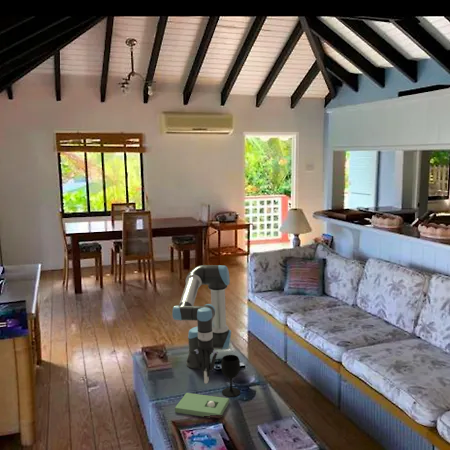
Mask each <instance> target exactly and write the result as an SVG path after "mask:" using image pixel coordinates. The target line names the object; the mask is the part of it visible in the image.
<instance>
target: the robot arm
mask: <svg viewBox="0 0 450 450" xmlns="http://www.w3.org/2000/svg"><path fill="white" fill-rule="evenodd" d="M185 277H186V278H185V286H184V289H183V292H182V294H181V299H180V301H179V304H178V305H174V306H173V307H172V314H171V315H172V319H173V320H174V321H194V322H195V321H197V322H196V324H197V326H195V327H194V326H193V327H192V328H190V329H189V330H188V333H187V334H188V336H187V340H188V354H187V357H186V361H185V363H186V366H187V367H188V368H191V369H196V370H198V369H199V370H201V373H202V374H201V375H202V377H203V382H204V384H208V383H209V382H210V379H209V378H210V376H211V371H213V369H214V368H215V364H216V360H217V357H218V354H219V352H218V351H215V350H227V349H229V348H230V345H231V338H232V337H231V336H232V330H231V329H230V327H229V326H228V325H227V312H226V289H227V288H228V286H229V285H230V281H231V280H230V277H231V276H230V272H229V268H228V266H227V265H220V264H219V265H216V264H214V265H213V264H211V265H210V264H207V265H206V264H203V265H202V264H201V265H198V266H196V267H194V268H192V270H190V271H189V272H188V273H187V275H186V276H185ZM202 285H204V286H205V285H206V286H207V289H208V290H210V303H206V304H204V305H195V301H196V298H197V294H198V290H199V288H200V287H201V286H202ZM211 355H212V359H211Z"/></svg>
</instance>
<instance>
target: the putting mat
mask: <svg viewBox="0 0 450 450" xmlns="http://www.w3.org/2000/svg"><path fill="white" fill-rule="evenodd" d="M209 401H213V402H214V403H215V407H214V408H212V407H207V404H208V402H209ZM229 404H230V397H227V398H226V397H221V396H215V395H213V396H212V395H207V394H206V395H205V394H198V393H191V392H186V393H185V394H184V395H183V397H182V398H181V399H180V401H179V402H178V403H177V404H176V406H175V407H174V413H178V414H183V415H190V416H191V415H192V416H197V417H204V416H210V415H222V416H223V415H224V413H225V411H226V409H227V408H228V405H229Z"/></svg>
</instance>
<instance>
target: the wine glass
mask: <svg viewBox="0 0 450 450" xmlns="http://www.w3.org/2000/svg"><path fill="white" fill-rule="evenodd" d="M220 367H221V368H220V369H221V372H222V374H223V376H224V377H225V378H227V379H229V387H225V388H224V389H222V390H221V394H222V395H223V396H224V397H225V398H226V397H227V398H235V397H238V396H240V395H241V390H240V389H239V388H237V387H234V386H233V379H234V378H236V377H237V376H238V375H239V373H240V371H241V362H240V358H239V356H238V355H235V354H226V355H224V356H223V357H222V359H221V364H220Z"/></svg>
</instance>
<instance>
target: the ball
mask: <svg viewBox="0 0 450 450" xmlns="http://www.w3.org/2000/svg"><path fill="white" fill-rule="evenodd" d="M207 407H212V408H214V407H215V403H214V402H213V401H209V402H208V404H207Z"/></svg>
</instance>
